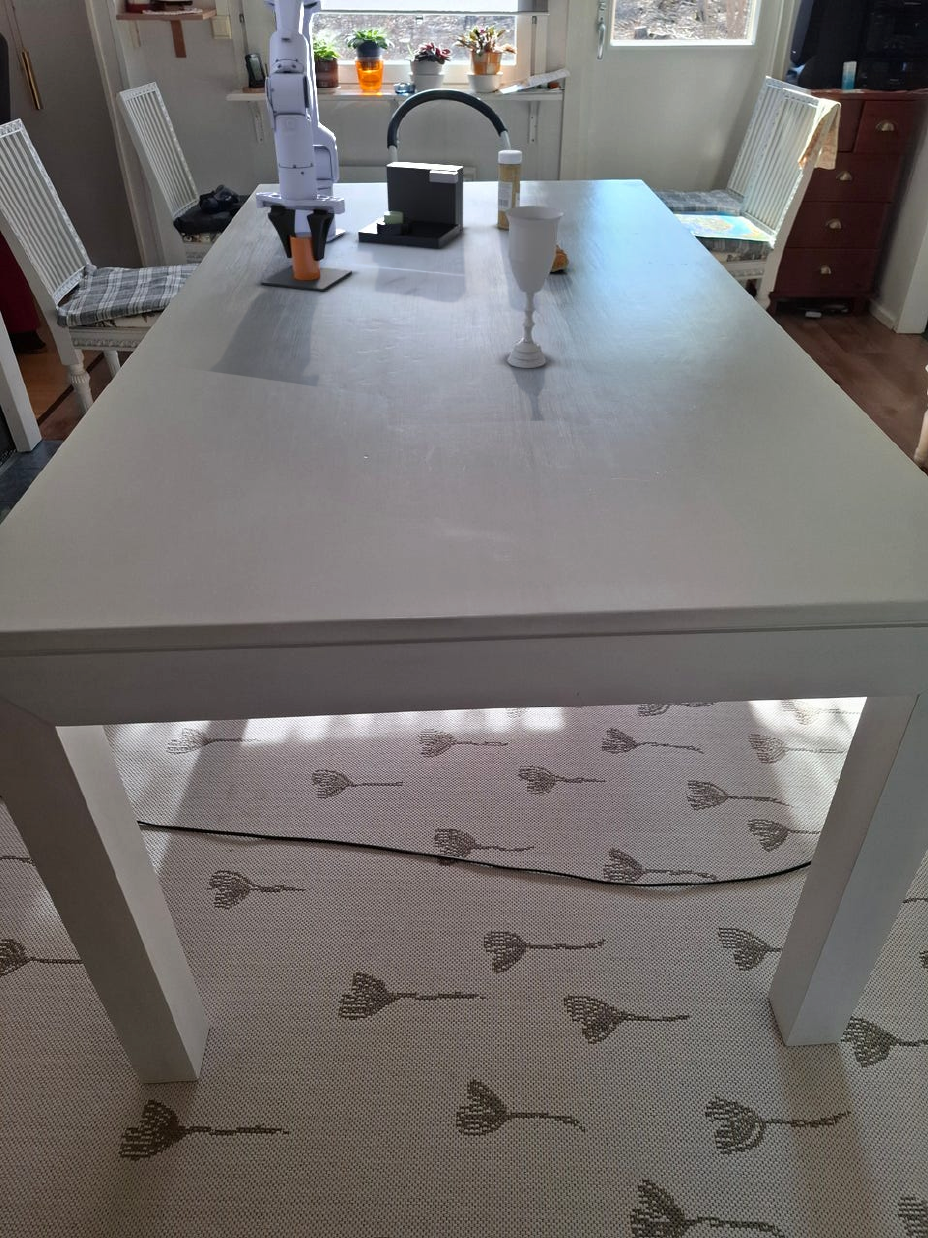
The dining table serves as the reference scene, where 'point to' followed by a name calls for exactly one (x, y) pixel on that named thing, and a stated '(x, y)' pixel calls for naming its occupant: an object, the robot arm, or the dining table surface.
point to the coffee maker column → (426, 192)
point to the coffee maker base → (410, 233)
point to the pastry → (560, 260)
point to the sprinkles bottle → (508, 184)
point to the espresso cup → (304, 257)
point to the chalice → (531, 269)
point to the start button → (393, 217)
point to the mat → (320, 284)
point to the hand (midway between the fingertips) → (305, 258)
